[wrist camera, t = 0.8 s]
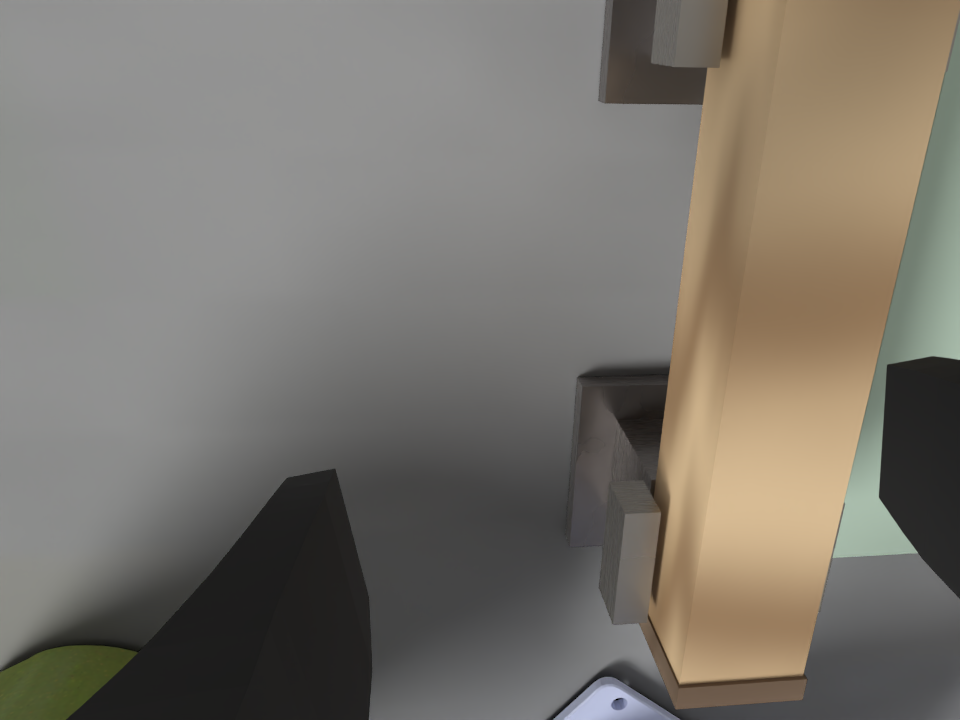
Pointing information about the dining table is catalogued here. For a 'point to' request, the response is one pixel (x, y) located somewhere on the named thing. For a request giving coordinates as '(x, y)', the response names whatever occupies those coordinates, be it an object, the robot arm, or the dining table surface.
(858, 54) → the rail
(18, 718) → the plant pot
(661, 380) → the standards
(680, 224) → the dining table surface
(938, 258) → the mat
